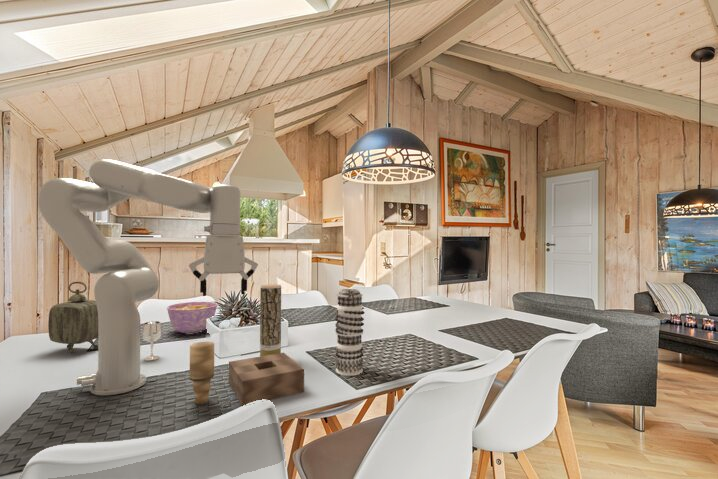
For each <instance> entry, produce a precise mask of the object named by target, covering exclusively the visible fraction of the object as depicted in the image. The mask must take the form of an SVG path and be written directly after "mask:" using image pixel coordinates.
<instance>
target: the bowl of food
mask: <svg viewBox="0 0 718 479" xmlns="http://www.w3.org/2000/svg"><path fill="white" fill-rule="evenodd" d="M217 308H218V303H216V302H213V301H191V302H190V301H189V302H187V301H186V302H180V303H174V304H171V305H169V306H166V309H167V314H168V317H169V321H170V325H171V327H172V328H173V330H174V331H177V332H179V333H182V332H183V333H196V332H200V331H202V330H203V331H205V330H207V329H206V319H207V318H210V317H212V316H214V315H215V316H216V311H217ZM215 316H214V317H215ZM203 331H202V332H203Z"/></svg>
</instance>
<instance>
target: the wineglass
mask: <svg viewBox="0 0 718 479" xmlns="http://www.w3.org/2000/svg"><path fill="white" fill-rule="evenodd" d="M162 333H163V330H162V325H161V322H160V321H157V320H156V321H155V320H153V321H147V322H144V323H143V326H142V331H141V337H142V339H143V340H144V341H145V342H148V343H150V344H149V345H150V356H147V357H144V358H143V360H144V361H154V360H158V359H160V356H159V355H154V353H153V352H154V350H153V349H154V348H153V347H154V342H157V341H158V340H159V339H160V338H161V337H162Z"/></svg>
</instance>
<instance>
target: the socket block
mask: <svg viewBox="0 0 718 479" xmlns="http://www.w3.org/2000/svg"><path fill="white" fill-rule="evenodd" d="M228 385H229V386H230V388H231V387H232V388H231V389H233V390H232V391H233V393H234V392H235V393H234V395H235V394H236V395H235V397H236V398H237V397H238V398H237V400H238V399H239V400H238V402H239V403H240V404H241V406H242V405H244V404H247V403H249V402H253V401H256V400H262V399H268V400H267V401H269V400H275V399H277V398H283V397H287V396H292V395H295V394H301V393H304V392H305V368H304V367H302V366H301V365H300V364H299V363H297V362H296V360H294V359H292V358H291V357H290V356H289V355H287V354H286V353H285V352H281V353H278V354H272V355H266V356H260V355H259V356H256V357H250V358H243V359H237V360H231V361H228Z"/></svg>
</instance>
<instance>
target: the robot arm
mask: <svg viewBox="0 0 718 479" xmlns="http://www.w3.org/2000/svg"><path fill="white" fill-rule="evenodd" d="M88 174H89V175H88V176H89V177H90V180H91V181H92V182H89V181H84V180H81V179H76V178H69V177H58V178H52V179H49V180H48V181H45V183H44V184H43V185H42V186H40V187H41V188H40V190H39V193H38V197H37V200H38V202H37V203H38V210H39V212H40V215H41V216H42V218H43V219H44V221H45V223H47V224H48V226H49V227H50V228H51V229H52V230H53V231H54V233H56V235H57V236H58V237H59V238H60V239H61V241H62V242H63V244H64V245H65V248H67V249H68V251H69V252H70V254H71V255H72V256H73V258H75V260H76V262H77V263H78V264H79V266H80V267H81V268H82V269H83V270H84V272H85V271H86V272H87V273H89V274H93V275H94V274H98V275H99V274H102V275H101V277H99V278H98V280H97V281H96V283H95V285H94V288H93V294H94V300H96V304H97V310H98V332H99V336H98V338H97V339H98V344H97V345H98V349H97V351H98V354H97V355H98V359H97V362H98V364H97V372H95V373H94V372H93V373H92V374H91V375H81V376H77V378H76V385H81V387H84V386H85V387H86V386H88V385H91V386H90V393H92V395H95V396H113V395H121V394H125V393H128V392H131V391H134V390H137V389H139V388H141V387H142V386H143V385H146V383H147V376H146V375H145V374H144V373H143V374H142V373H141V316H140V311H139V308H138V307H137V304H136V303H137V302H140V301H145V300H148V299H151V298H152V297H153V296H155V295H156V294H157V292H158V290H159V287H160V281H159V278H158V276H157V273H156V272H155V270H154V269H153V268H152V266H151V265H150V264H149V262H148V261H147V259H146V258H145V257H144V256H143V254H142V253H141V252H140V250H139V249H138V248H137V246H135V245H134V244H132V243H131V242H129V241H127V240H124V239H110V238H108V237H106V236H105V235H104V233H102V232H101V229H99V227H98V226H97V224H96V223H95V222H93V220H92V219H90V218H89V217H88V216H86V215H85V214H84V213H83V212H91V213H101V212H102V213H103V212H105V211H108V210H110V209H112V208H114V207H116V206H117V205H120V204H121V203H123V202H125V201H127V200H128V199H130V198H136V199H138V200H142V201H145V202H152V203H155V204H159V205H163V206H165V207H166V206H168V207H169V208H170V207H171V208H174V209H177V210H182V211H188V212H194V213H201V214H207V213H209V215H210V216H209V218H210V219H209V220H210V222H209V225H207V226H205V225H204V228H203V232H207V233H209V235H206V239H205V244H204V252H203V253H204V254H203V257H201V258H199V259H197V260H195V261H192V262H190V263H189V264H188V266H189V269H190V270H191V272H192V274H193V275H194V277H195V278H197V279H198V280H199V281H200V283H199V286H200V288H199V291H200V292H199V293H200V294H201V293H202V297H205V296H207V279H206V278H207V277H208V276H209V274H210V275H211V274H212V275H214V274H215V275H216V274H217V275H220V274H221V275H223V274H224V275H225V274H239V275H240V276H241V279H240V280H241V281H240V293H241V295H245V292H246V291H248V280H249V278H251V276H252V275H253V274H254V273H255V271H256V270H257V268H258V266H259V264H258V262H256V261H253V260H251V259H249V258H248V257H246V256H245V243H244V238H243V236H240V234H241V233H240V231H241V189H240V188H239V187H238V186H235V185H230V184H216V185H213V186H212V187H211V186H207V185H202V184H200V183H196V182H193V181H189V180H186V179H183V178H178V177H175V176H170V175H167V174H163V173H159V172H157V171H155V170H154V169H149V168H145V167H142V166H137V165H134V164H131V163H126V162H122V161H119V160H115V159H110V158H108V159H106V158H105V159H99V160H97V161H94V163H92V164H91V165H90V168H89V171H88ZM202 264H203V272H202V273H201V272H200V271H199V270H198V269H197V266H199V265H202ZM246 264H247V265H250V266H251V267H250V268H249V270H248V271H247V272H245V266H246Z"/></svg>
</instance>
